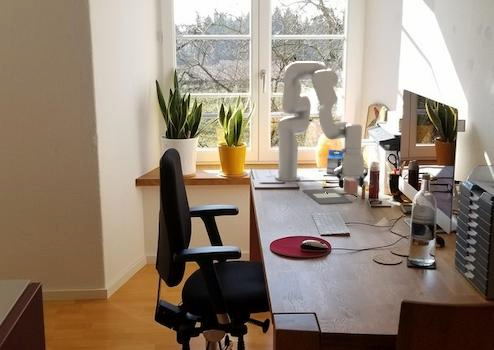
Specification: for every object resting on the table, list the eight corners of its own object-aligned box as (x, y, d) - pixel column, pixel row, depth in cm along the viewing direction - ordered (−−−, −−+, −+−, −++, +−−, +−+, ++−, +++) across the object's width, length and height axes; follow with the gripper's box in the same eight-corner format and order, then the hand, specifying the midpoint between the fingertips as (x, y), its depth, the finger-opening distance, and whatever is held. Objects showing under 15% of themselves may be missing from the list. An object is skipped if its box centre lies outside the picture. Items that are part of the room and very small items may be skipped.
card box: (343, 190, 270) (344, 178, 269) (351, 190, 271) (352, 177, 270) (349, 194, 264) (349, 181, 262) (357, 193, 265) (358, 181, 263)
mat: (302, 191, 269) (302, 189, 268) (332, 189, 272) (332, 188, 272) (319, 204, 246) (319, 203, 246) (352, 202, 249) (352, 201, 249)
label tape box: (326, 173, 307) (327, 150, 304) (327, 171, 310) (328, 149, 308) (342, 174, 304) (344, 151, 301) (343, 173, 308) (345, 150, 305)
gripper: (337, 153, 258) (336, 190, 261) (373, 151, 261) (371, 188, 265) (331, 150, 265) (330, 186, 269) (366, 148, 269) (365, 184, 272)
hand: (351, 187), depth 267 cm, fingers open, 9 cm apart
